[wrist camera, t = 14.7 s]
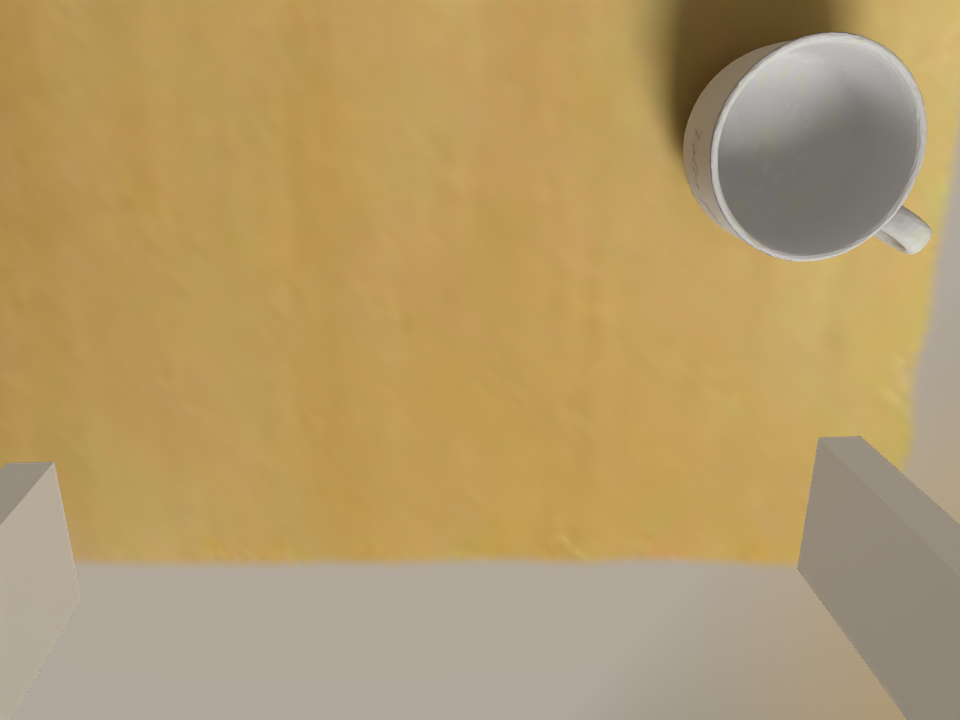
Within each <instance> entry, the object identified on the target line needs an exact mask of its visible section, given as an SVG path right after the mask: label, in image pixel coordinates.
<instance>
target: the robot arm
mask: <svg viewBox="0 0 960 720" xmlns="http://www.w3.org/2000/svg"><path fill="white" fill-rule="evenodd" d="M797 569H798V570H799V572H800V573H801V575H802V576H803V577H804V579H805V580H806V581H807V583H808V584H809V585H810V587H811V588H812V590H813V591H814V592H815V594H816V595H817V596H818V598H819V599H820V601H821V602H822V603H823V605H824V606H825V608H826V609H827V610H828V612H829V613H830V615H831V616H832V617H833V619H834V620H835V621H836V623H837V624H838V626H839V627H840V628H841V630H842V631H843V632H844V634H845V635H846V636H847V638H848V639H849V641H850V642H851V643H852V645H853V646H854V648H855V649H856V650H857V652H858V653H859V654H860V656H861V657H862V659H863V660H864V661H865V663H866V664H867V665H868V667H869V668H870V670H871V671H872V672H873V674H874V675H875V676H876V678H877V679H878V681H879V682H880V683H881V685H882V686H883V687H884V689H885V690H886V692H887V693H888V694H889V696H890V697H891V699H892V700H893V701H894V703H895V704H896V705H897V707H898V708H899V709H900V711H901V712H902V714H903V715H904V716H905V718H906V719H907V720H960V524H959V523H958V522H957V521H955V520H954V519H953V518H952V517H951V516H950V515H949V514H948V513H946V512H945V511H944V510H943V509H942V508H941V507H940V506H939V505H937V504H936V503H935V502H934V501H933V500H932V499H931V498H930V497H928V496H927V495H926V494H925V493H924V492H923V491H922V490H920V489H919V488H918V487H917V486H916V485H915V484H914V483H913V482H911V481H910V480H909V479H908V478H907V477H906V476H905V475H904V474H902V473H901V472H900V471H899V470H898V469H897V468H896V467H895V466H893V465H892V464H891V463H890V462H889V461H888V460H887V459H886V458H884V457H883V456H882V455H881V454H880V453H879V452H878V451H877V450H875V449H874V448H873V447H872V446H871V445H870V444H869V443H868V442H866V441H865V440H864V439H863V438H862V437H861V436H848V437H819V439H818V445H817V451H816V457H815V463H814V470H813V476H812V482H811V488H810V494H809V500H808V507H807V513H806V519H805V525H804V531H803V538H802V544H801V550H800V556H799V562H798V568H797ZM81 600H82V599H81V594H80V589H79V584H78V579H77V574H76V569H75V564H74V559H73V554H72V549H71V543H70V538H69V533H68V528H67V523H66V518H65V513H64V508H63V503H62V498H61V493H60V488H59V483H58V478H57V473H56V468H55V463H54V462H29V463H6V464H5V465H4V466H3V467H2V468H1V469H0V720H11V719H12V717H13V716H14V714H15V712H16V711H17V709H18V707H19V706H20V704H21V702H22V700H23V699H24V697H25V695H26V693H27V692H28V690H29V688H30V687H31V685H32V683H33V682H34V680H35V678H36V676H37V675H38V673H39V672H40V670H41V668H42V666H43V665H44V663H45V661H46V660H47V658H48V656H49V655H50V653H51V651H52V649H53V648H54V646H55V644H56V642H57V641H58V639H59V638H60V636H61V634H62V632H63V631H64V629H65V627H66V626H67V624H68V622H69V620H70V619H71V617H72V615H73V614H74V612H75V610H76V609H77V607H78V605H79V604H80V602H81Z"/></svg>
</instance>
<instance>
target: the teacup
mask: <svg viewBox="0 0 960 720" xmlns="http://www.w3.org/2000/svg"><path fill="white" fill-rule="evenodd" d="M926 138H927V120H926V112H925V107H924V103H923V99H922V96H921V93H920V91H919V89H918V86H917V84H916V82H915V80H914V78H913V76H912V74H911V72H910V71H909V70H908V68H907V67H906V66H905V65H904V63H903V62H902V61H901V60H900V59H899V58H898V57H897V56H896V55H895V54H894V53H893V52H891V51H890V50H889V49H888V48H886V47H884V46H883V45H881V44H879V43H877V42H875V41H873V40H871V39H869V38H866V37H863V36H861V35H856V34H851V33H846V32H824V33H816V34H811V35H806V36H803V37H800V38H797V39H794V40H790V41H785V42H780V43H776V44H772V45H768V46H764V47H761V48H758V49H756V50H754V51H751V52H749V53H747V54H745V55H743V56H741V57H739V58H738V59H736V60H734V61H733V62H731V63H730V64H729V65H727V66H726V67H725V68H724V69H722V70H721V71H720V72H719V73H718V74H717V75H716V76H715V77H714V78H713V79H712V80H711V81H710V82H709V84H708V85H707V86H706V87H705V89H704V90H703V92H702V93H701V94H700V96H699V98H698V99H697V101H696V103H695V105H694V107H693V109H692V112H691V114H690V116H689V119H688V123H687V126H686V130H685V135H684V142H683V162H684V169H685V174H686V178H687V181H688V184H689V187H690V189H691V192H692V194H693V195H694V197H695V199H696V201H697V202H698V204H699V205H700V207H701V208H702V210H703V211H704V212H705V213H706V214H707V215H708V216H709V217H710V218H711V219H712V220H713V221H714V222H715V223H716V224H717V225H719V226H720V227H721V228H723V229H724V230H726V231H727V232H729V233H730V234H732V235H734V236H736V237H737V238H739V239H741V240H743V241H745V242H746V243H747V244H749V245H751V246H753V247H754V248H756V249H758V250H759V251H761V252H763V253H765V254H768V255H771V256H773V257H777V258H780V259H784V260H789V261H817V260H823V259H827V258H832V257H834V256H837V255H840V254H843V253H845V252H847V251H849V250H851V249H853V248H855V247H857V246H858V245H860V244H861V243H863V242H864V241H866V240H867V239H869V238H870V237H871V236H873V235H874V236H875V237H877V238H878V239H880V240H881V241H883V242H884V243H886V244H887V245H889V246H891V247H893V248H895V249H896V250H898V251H901V252H903V253H906V254H910V255H911V254H915V253H917V252H919V251H920V250H922V249H923V248H924V246H925V245H926V244H927V243H928V241H929V240H930V238H931V233H932V232H931V229H930V227H929V226H928V225H927V223H925V222H924V221H923V220H922V219H921V218H920V217H918V216H917V215H916V214H914V213H913V212H911V211H910V210H909V209H907V208H905V207H904V206H902V204H903V203H904V202H905V200H906V198H907V196H908V194H909V193H910V191H911V189H912V187H913V185H914V182H915V180H916V177H917V175H918V173H919V171H920V168H921V165H922V162H923V158H924V154H925V149H926Z"/></svg>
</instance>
